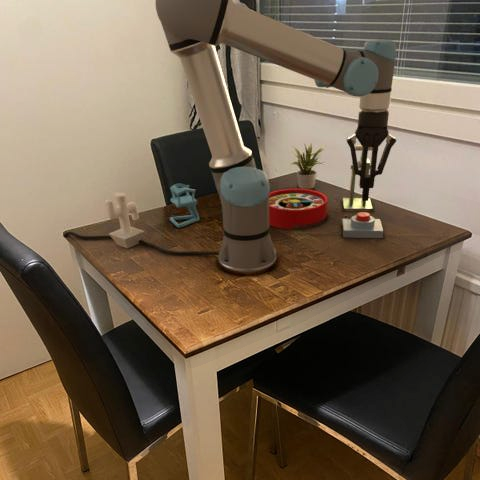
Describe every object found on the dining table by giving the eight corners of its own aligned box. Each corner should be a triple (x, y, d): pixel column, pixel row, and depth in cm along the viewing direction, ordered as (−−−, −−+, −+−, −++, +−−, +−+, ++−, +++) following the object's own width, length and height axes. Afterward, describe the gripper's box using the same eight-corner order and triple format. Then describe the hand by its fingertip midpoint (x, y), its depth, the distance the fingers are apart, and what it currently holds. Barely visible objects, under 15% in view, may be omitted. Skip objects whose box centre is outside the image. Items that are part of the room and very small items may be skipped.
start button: (356, 222, 141) (357, 216, 140) (356, 217, 144) (356, 211, 143) (369, 222, 140) (370, 216, 139) (368, 217, 143) (369, 212, 142)
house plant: (333, 195, 171) (336, 147, 163) (294, 198, 170) (295, 150, 161) (321, 183, 183) (324, 137, 175) (285, 186, 182) (285, 140, 173)
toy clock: (261, 189, 161) (323, 187, 160) (262, 206, 164) (322, 205, 164) (263, 211, 144) (331, 209, 144) (263, 230, 148) (330, 228, 147)
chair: (202, 222, 155) (199, 185, 148) (178, 228, 152) (173, 189, 145) (193, 215, 160) (190, 178, 154) (169, 220, 157) (164, 183, 151)
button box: (343, 237, 141) (344, 224, 139) (341, 225, 148) (342, 212, 146) (382, 238, 139) (384, 224, 137) (379, 226, 147) (380, 213, 145)
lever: (375, 150, 142) (375, 142, 143) (355, 150, 143) (355, 142, 143) (368, 172, 155) (369, 165, 156) (351, 172, 156) (351, 165, 156)
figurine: (149, 241, 144) (141, 191, 136) (123, 252, 138) (114, 200, 130) (132, 236, 148) (124, 186, 140) (107, 246, 142) (97, 196, 134)
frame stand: (372, 212, 157) (377, 165, 149) (343, 211, 158) (347, 165, 150) (369, 201, 165) (374, 156, 157) (342, 201, 166) (345, 156, 158)
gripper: (398, 106, 128) (387, 194, 141) (347, 107, 130) (341, 194, 143) (402, 111, 122) (390, 203, 135) (348, 112, 124) (342, 203, 136)
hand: (365, 199), depth 139 cm, fingers closed
